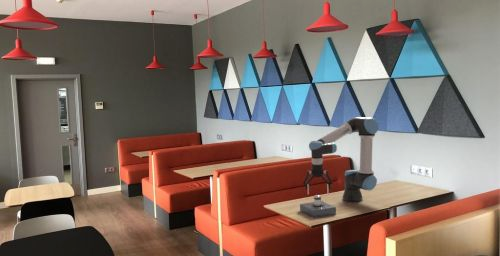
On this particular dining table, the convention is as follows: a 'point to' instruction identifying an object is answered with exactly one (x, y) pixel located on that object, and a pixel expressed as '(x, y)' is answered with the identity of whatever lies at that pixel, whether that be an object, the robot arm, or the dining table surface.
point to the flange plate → (318, 209)
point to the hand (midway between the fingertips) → (318, 193)
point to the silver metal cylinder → (317, 200)
